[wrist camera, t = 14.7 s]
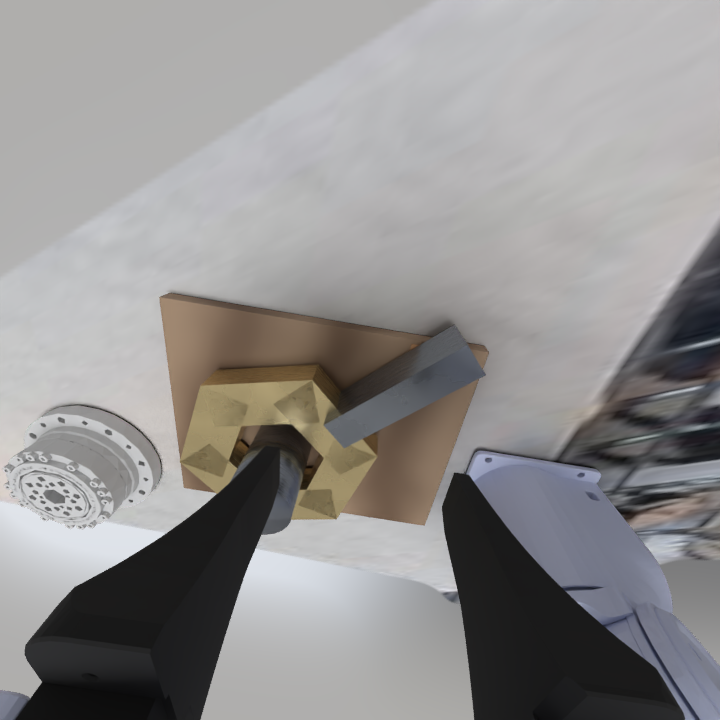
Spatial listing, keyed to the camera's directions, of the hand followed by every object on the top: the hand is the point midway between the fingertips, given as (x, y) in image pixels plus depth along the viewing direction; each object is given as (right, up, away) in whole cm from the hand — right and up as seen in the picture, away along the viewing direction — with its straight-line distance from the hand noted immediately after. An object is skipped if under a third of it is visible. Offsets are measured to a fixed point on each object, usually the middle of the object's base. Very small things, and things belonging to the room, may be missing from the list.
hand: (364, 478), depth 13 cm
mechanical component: (-21, -3, +13) cm, 26 cm away
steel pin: (-6, -1, +10) cm, 11 cm away
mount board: (-3, 0, +10) cm, 11 cm away
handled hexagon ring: (-2, +1, +8) cm, 9 cm away
